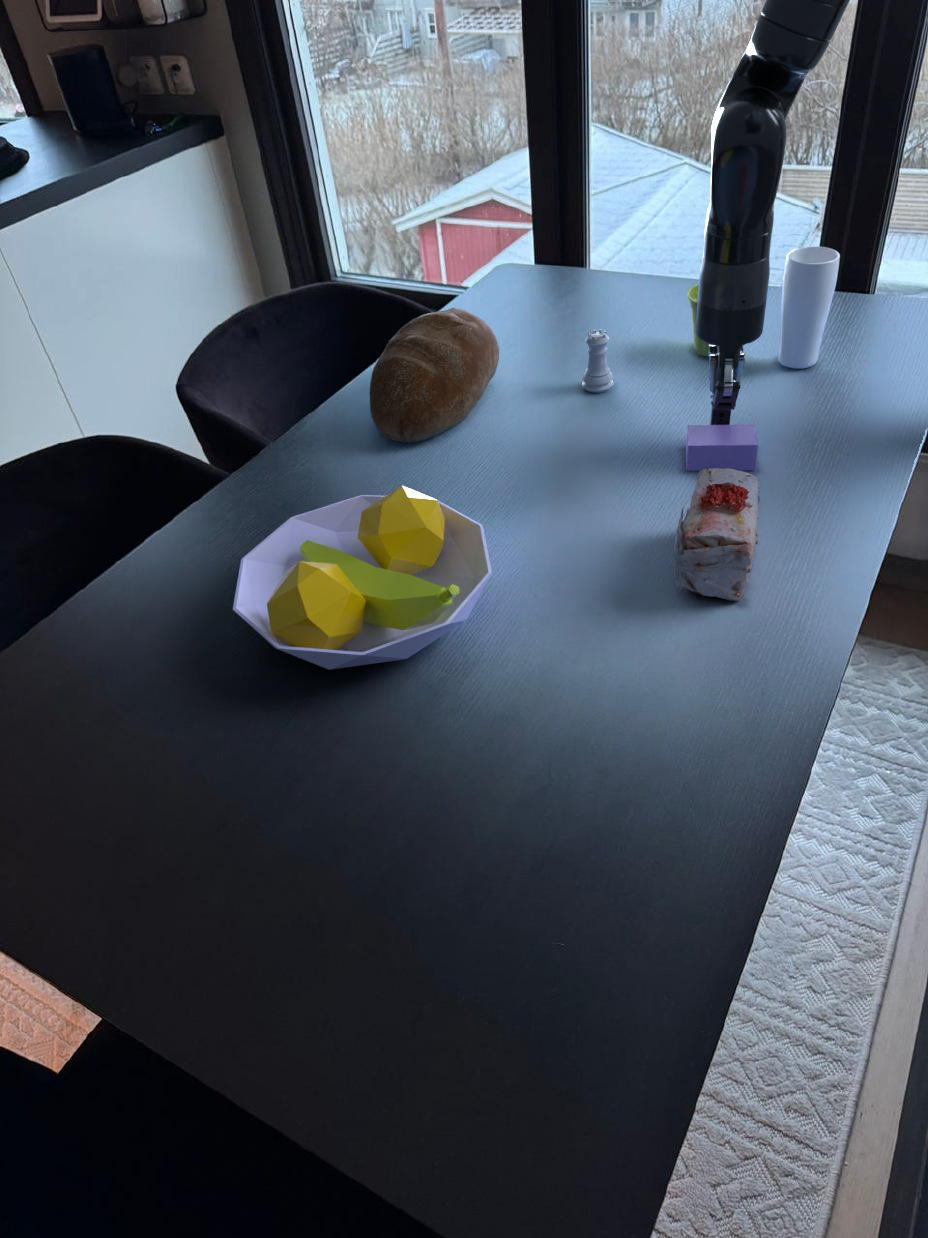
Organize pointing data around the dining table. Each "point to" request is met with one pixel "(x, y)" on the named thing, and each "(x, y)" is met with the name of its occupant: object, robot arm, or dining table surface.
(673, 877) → the dining table surface
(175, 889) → the dining table surface
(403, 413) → the bread
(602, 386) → the rook chess piece
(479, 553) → the fruit bowl
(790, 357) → the drinking glass
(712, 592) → the food item
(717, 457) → the lavender block
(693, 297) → the plant pot
